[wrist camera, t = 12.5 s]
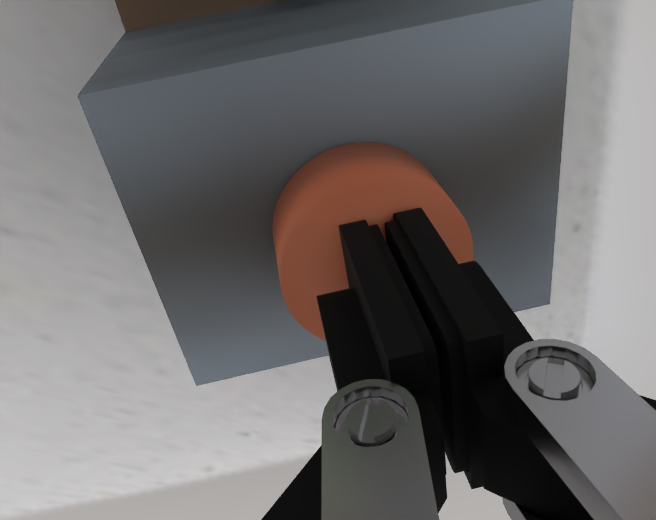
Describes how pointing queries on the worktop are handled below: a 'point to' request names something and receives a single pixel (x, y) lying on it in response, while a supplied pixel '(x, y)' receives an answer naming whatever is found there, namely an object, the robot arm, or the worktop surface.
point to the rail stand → (322, 142)
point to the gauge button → (351, 217)
